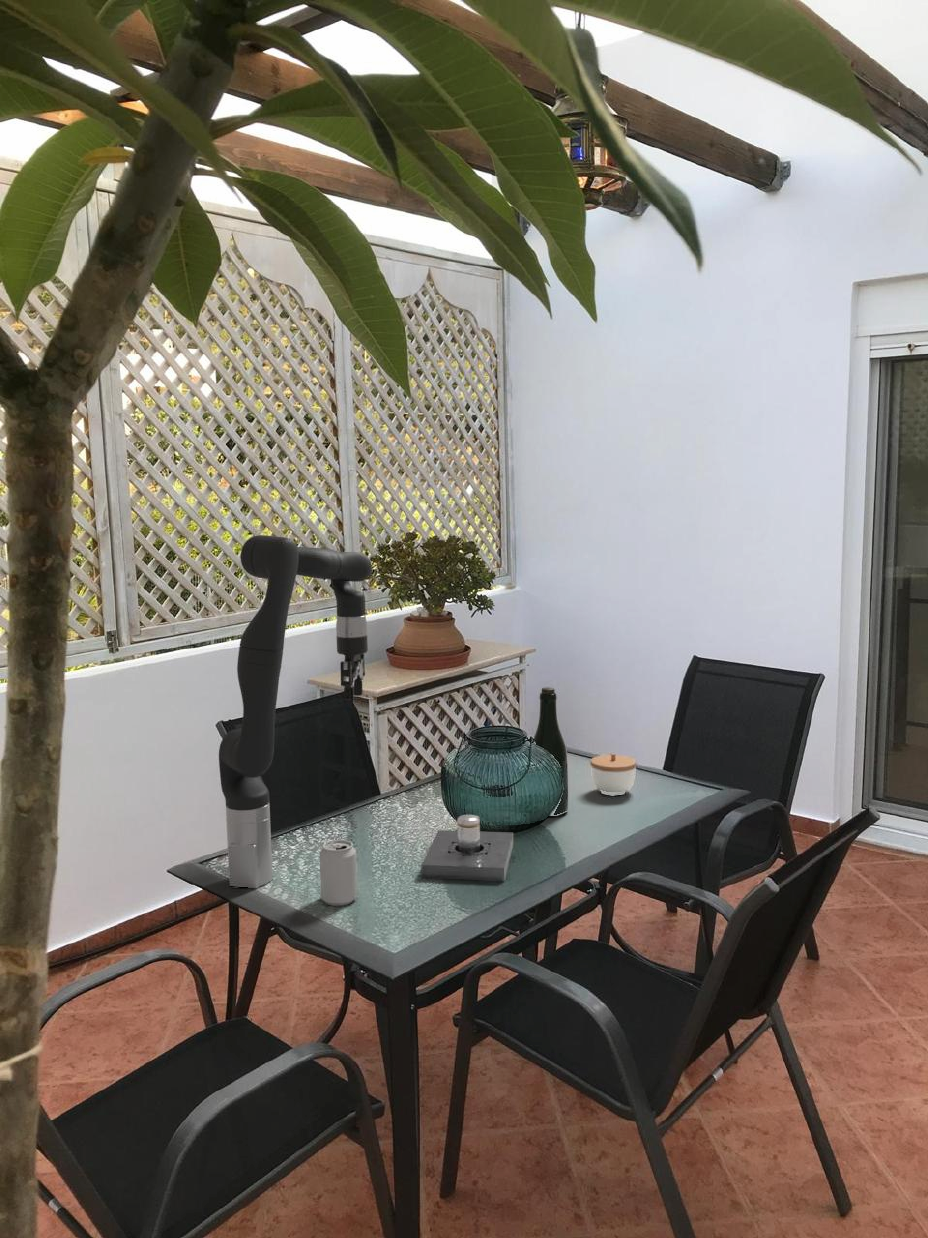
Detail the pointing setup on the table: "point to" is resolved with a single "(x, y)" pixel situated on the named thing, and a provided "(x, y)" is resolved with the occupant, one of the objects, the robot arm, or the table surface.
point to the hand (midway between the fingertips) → (353, 698)
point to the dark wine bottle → (552, 739)
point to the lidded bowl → (613, 772)
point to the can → (338, 872)
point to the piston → (468, 834)
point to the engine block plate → (468, 857)
